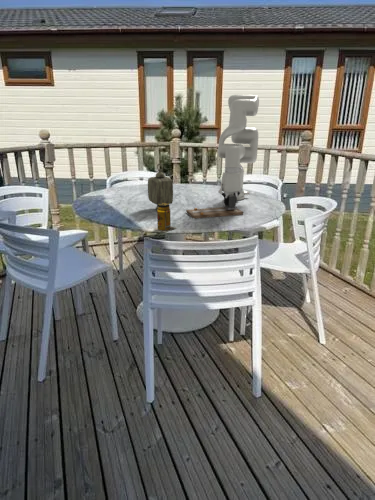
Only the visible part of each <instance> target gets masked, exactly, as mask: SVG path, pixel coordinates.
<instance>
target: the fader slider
mask: <svg viewBox="0 0 375 500" xmlns="http://www.w3.org/2000/svg"><path fill="white" fill-rule="evenodd" d="M227 198H228V205H225V204H223V206H222V207H223V208H225V209H227V210H236V208H237V207H236V205H237V202H236V196H234V195H232V194H228V196H227ZM235 204H236V205H235ZM237 209H238V208H237Z"/></svg>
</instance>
